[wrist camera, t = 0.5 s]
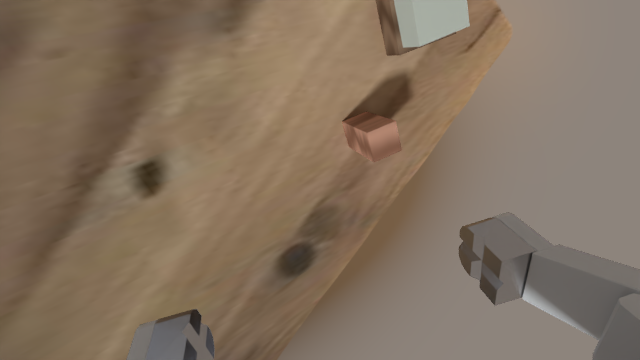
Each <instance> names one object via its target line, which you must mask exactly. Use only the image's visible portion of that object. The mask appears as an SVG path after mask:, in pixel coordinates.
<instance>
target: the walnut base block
mask: <svg viewBox="0 0 640 360" xmlns="http://www.w3.org/2000/svg"><path fill="white" fill-rule="evenodd" d="M376 4H377V9H378V14H379V19H380V24H381V29H382V34H383V39H384V44H385V49H386V54H387V55H401V54H404V53H407V52H409V51H412V50H414V49H417V48H420V47H422V46H420V47H405V48H403V45H402V40H401V34H400V29H399V24H398V19H397V14H396V9H395V4H394V0H376ZM453 34H456V32H454V33H452V34H449V35H447V36H444V37H442V38H439V39H437V40H435V41H438V40H440V39H443V38H446V37H448V36H451V35H453ZM435 41H432V42H430V43H433V42H435ZM430 43H427V44H430ZM427 44H425V45H427ZM425 45H423V46H425Z"/></svg>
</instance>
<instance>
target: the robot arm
mask: <svg viewBox="0 0 640 360" xmlns="http://www.w3.org/2000/svg"><path fill="white" fill-rule="evenodd" d="M460 238H461V239H462V240H463V242H462V244H461V245H460V246H459V257H460V260H461V263H462V265H463V267H464V269H465V270H466V271H467V273H468V274H469V275H470V276H471V277H473V278H476V279H478V280H480V288H481V290H482V291H483V292H484V293H485V294H486V296H487V297H488V298H489V299H490V300H491V302H492V303H493V304H494V305H498V304H502V303H505V302H508V301H512V300H515V299H518V298H522V299H523V300H525V301H527V302H529V303H531V304H533V305H534V306H536V307H538V308H540V309H542V310H543V311H545V312H547V313H549V314H551V315H553V316H555V317H557V318H558V319H560V320H562V321H564V322H566V323H568V324H569V325H571V326H573V327H575V328H577V329H579V330H581V331H583V332H584V333H586V334H588V335H590V336H592V337H594V338H596V339H597V340H599V342H598V344H597V346H596V348H595V350H594V352H593V360H640V269H637V268H634V267H630V266H627V265H624V264H621V263H617V262H614V261H611V260H608V259H605V258H601V257H598V256H595V255H591V254H588V253H585V252H582V251H578V250H575V249H572V248H569V247H565V246H562V245H556V246H554V245H553V244H551V243H550V242H549V241H547V240H546V239H545V238H544V237H542V236H541V235H540V234H538V233H537V232H536V231H535V230H533V229H532V228H531V227H529V226H528V225H527V224H525V223H524V222H523V221H522V220H521V219H519V218H518V217H516V216H515V215H514V214H512V213H509V212H507V213H504V214H501V215H497V216H495V217H492V218H487V219H484V220H481V221H478V222H475V223H472V224H469V225H466V226H462V228H461V229H460ZM201 317H202V316H201V315H200V313H199V312H198V310H197V309H193V310H189V311H186V312H182V313H179V314H175V315H171V316H168V317H164V318H161V319H158V320H155V321H151V322H148V323H144V324H140V326H139V327H138V328H137V329H136V331H135V335H134V338H133V341H132V344H131V347H130V350H129V353H128V356H127V359H126V360H213V359H214V341H213V336H212V333H211V331H210V329H209V327H208V326H207V325H205V324H202V323H201Z"/></svg>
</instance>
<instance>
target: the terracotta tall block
mask: <svg viewBox="0 0 640 360" xmlns="http://www.w3.org/2000/svg"><path fill="white" fill-rule="evenodd" d="M342 124H343V127H344V131H345V134H346V138H347V141H348V145H349V147H350V148H352V149H353V150H355V151H357V152H358V153H360V154H362V155H363V156H365V157H366V158H368V159H370V160H371V161H373V162H376V161H379V160H381V159H383V158H385V157H388V156H390V155H392V154H395V153H397V152H399V151H401V150H402V149H401V144H400V139H399V134H398V129H397V124H396V121H395V120H391V119H388V118H385V117H382V116H379V115H376V114H373V113H370V112H367V111H366V112H364V113H361V114H359V115H357V116H354V117H352V118H349V119H347V120H344V121H342Z"/></svg>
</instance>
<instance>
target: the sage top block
mask: <svg viewBox="0 0 640 360" xmlns="http://www.w3.org/2000/svg"><path fill="white" fill-rule="evenodd" d="M394 4H395V9H396V14H397V19H398V24H399V29H400V34H401V40H402V45H403V48H405V47H420V46H423V45H425V44H427V43H430V42H432V41H435V40H437V39H439V38H442V37H444V36H447V35H449V34H452V33H454V32H456V31H459V30H461V29H464V28H466V27H468V26H470V25H469V16H468V6H467V0H394Z"/></svg>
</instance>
